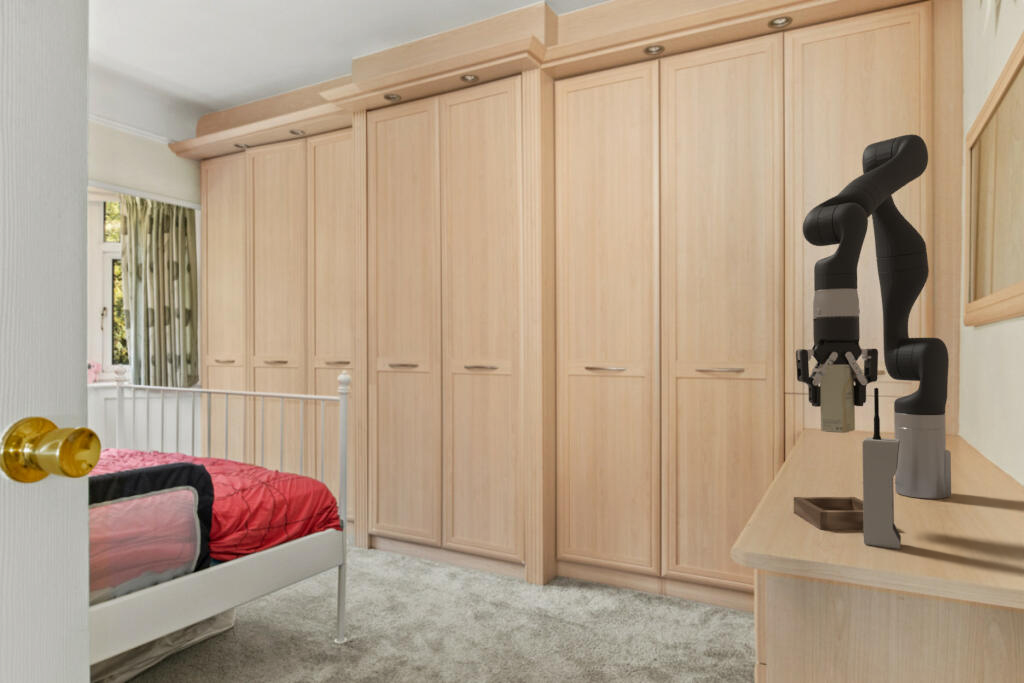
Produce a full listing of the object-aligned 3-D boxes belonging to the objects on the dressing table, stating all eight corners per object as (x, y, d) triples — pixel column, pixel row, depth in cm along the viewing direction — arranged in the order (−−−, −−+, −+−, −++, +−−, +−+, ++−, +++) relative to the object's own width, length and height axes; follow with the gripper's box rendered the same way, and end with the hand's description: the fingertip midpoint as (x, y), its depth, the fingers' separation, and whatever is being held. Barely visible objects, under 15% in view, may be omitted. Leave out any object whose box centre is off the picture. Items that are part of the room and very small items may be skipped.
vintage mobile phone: (900, 550, 101) (897, 388, 101) (863, 544, 104) (861, 387, 104) (901, 543, 104) (899, 387, 104) (865, 539, 107) (863, 386, 107)
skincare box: (846, 433, 114) (845, 364, 114) (819, 431, 117) (818, 364, 117) (855, 430, 119) (854, 363, 119) (829, 428, 122) (828, 363, 122)
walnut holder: (854, 512, 124) (854, 496, 124) (887, 529, 112) (887, 512, 112) (793, 512, 124) (793, 497, 124) (820, 529, 113) (820, 512, 113)
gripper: (865, 315, 122) (866, 404, 122) (787, 316, 122) (789, 404, 122) (887, 313, 115) (888, 407, 114) (804, 314, 115) (805, 408, 115)
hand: (837, 405), depth 118 cm, fingers closed on skincare box, 7 cm apart
